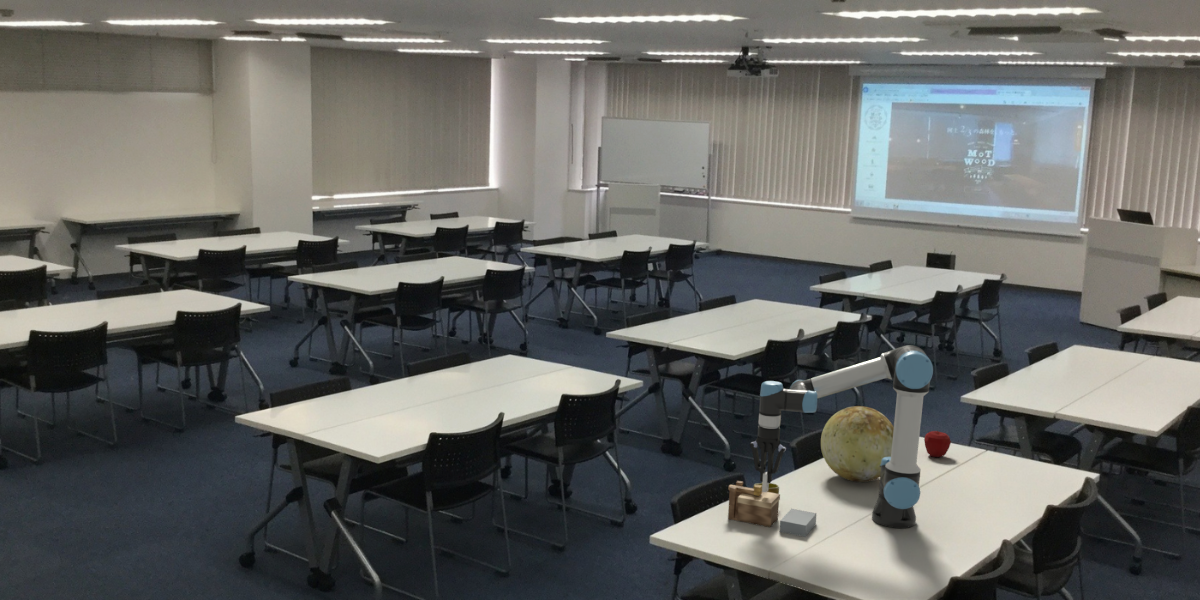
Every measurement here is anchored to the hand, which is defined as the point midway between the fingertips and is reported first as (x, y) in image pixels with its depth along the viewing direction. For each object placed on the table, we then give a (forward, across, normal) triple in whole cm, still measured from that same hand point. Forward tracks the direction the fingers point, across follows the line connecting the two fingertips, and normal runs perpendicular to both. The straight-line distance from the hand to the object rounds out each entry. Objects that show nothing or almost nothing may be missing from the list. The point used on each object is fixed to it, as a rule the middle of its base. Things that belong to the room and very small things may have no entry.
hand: (765, 490), depth 364 cm
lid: (+4, +2, 0) cm, 5 cm away
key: (+2, +7, 0) cm, 7 cm away
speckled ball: (+11, -19, -65) cm, 69 cm away
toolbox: (+11, +4, 0) cm, 12 cm away
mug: (+11, +4, -17) cm, 21 cm away
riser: (+11, -12, 0) cm, 17 cm away
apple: (+11, -42, -117) cm, 125 cm away
